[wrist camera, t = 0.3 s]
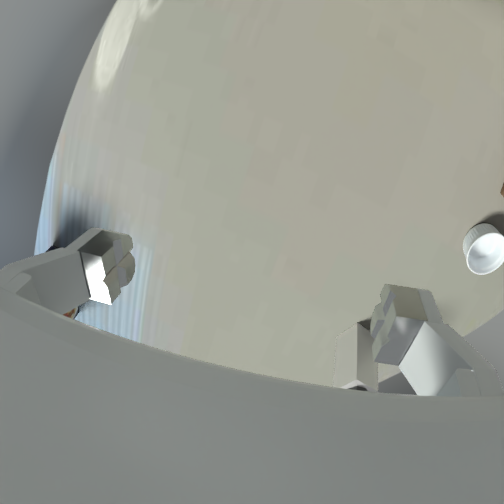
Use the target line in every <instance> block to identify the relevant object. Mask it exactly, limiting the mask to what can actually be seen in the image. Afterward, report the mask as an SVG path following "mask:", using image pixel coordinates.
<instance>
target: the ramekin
mask: <svg viewBox="0 0 504 504" xmlns="http://www.w3.org/2000/svg"><path fill="white" fill-rule="evenodd" d="M463 251H464V254H465V257H466V261H467V265H468V268H469V269H470V270H471V271H472V272H474V273H476V274H480V275H483V274H488V273H491V272H493V271H494V270H496V269H497V268H498V267H500V266H501V264H502V263H503V262H504V236H503V235H502V234H500V232H499V231H498V230H497V229H496V228H495V227H494V226H493V225H491V224H487V223H482V224H479V225H476V226H475V227H473V228H472V229H470V231H469V232H468V233H467V235H466V236H465V238H464V241H463Z"/></svg>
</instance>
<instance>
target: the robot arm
mask: <svg viewBox="0 0 504 504" xmlns="http://www.w3.org/2000/svg"><path fill="white" fill-rule="evenodd" d="M132 248H133V243H132V238H131V237H130V236H129V235H127V234H123V233H118V232H114V231H109V230H105V229H100V228H90V229H89V230H88V231H86V232H85V233H84V234H82V235H81V236H80V237H78V238H77V239H76V240H75V241H73V242H72V243H71V244H69V245H68V246H67V247H66V248H63V247H61V248H58V249H55V250H51V251H48V252H45V253H42V254H39V255H35V256H32V257H29V258H26V259H23V260H20V261H17V262H14V263H11V264H8V265H6V266H5V267H4V268H2V269H1V270H0V504H504V391H503V388H502V385H501V382H500V380H499V377H498V374H497V371H496V369H495V368H494V367H493V366H492V365H491V364H490V363H489V362H488V361H487V360H486V359H485V358H484V357H483V356H481V355H480V354H479V353H478V352H477V351H476V350H475V349H474V348H473V347H472V346H471V345H470V344H469V343H468V342H467V341H465V340H464V339H463V338H462V337H461V336H460V335H459V334H458V333H457V332H456V331H455V330H454V329H452V328H451V327H450V326H449V325H448V324H444V323H443V321H442V318H441V315H440V313H439V310H438V308H437V305H436V303H435V300H434V298H433V295H432V293H431V292H430V291H429V290H424V289H417V288H410V287H403V286H397V285H390V284H385V285H384V287H383V289H382V291H381V294H380V297H381V303H379V304H378V305H377V306H375V309H374V312H373V314H372V319H371V324H370V332H371V336H372V337H373V338H374V339H375V340H374V343H373V345H372V351H373V360H374V362H377V363H384V364H391V365H398V366H399V368H400V370H401V371H402V373H403V374H404V376H405V377H406V378H407V380H408V381H409V383H410V384H411V386H412V387H413V389H414V390H415V392H416V393H417V395H405V394H389V393H379V392H369V391H360V390H352V389H344V388H336V387H329V386H322V385H316V384H310V383H304V382H298V381H292V380H286V379H281V378H276V377H271V376H266V375H261V374H256V373H251V372H247V371H242V370H238V369H233V368H229V367H225V366H221V365H216V364H212V363H208V362H204V361H201V360H197V359H193V358H189V357H186V356H182V355H178V354H175V353H171V352H168V351H165V350H161V349H158V348H154V347H151V346H148V345H145V344H142V343H138V342H135V341H132V340H129V339H126V338H123V337H120V336H117V335H115V334H112V333H109V332H106V331H103V330H100V329H98V328H95V327H92V326H90V325H87V324H84V323H82V322H79V321H77V320H74V319H72V318H69V317H67V316H64V315H63V314H65V313H67V312H69V311H71V310H72V309H74V308H76V307H78V306H80V305H82V304H84V303H86V302H87V301H89V300H91V299H93V300H97V301H100V302H104V303H107V304H112V303H113V301H114V300H115V299H116V298H117V297H118V295H119V294H120V293H121V289H120V288H121V287H123V286H126V285H128V284H129V282H130V281H131V280H132V277H133V275H134V272H135V259H134V257H133V256H132V254H131V253H130V251H131V250H132Z"/></svg>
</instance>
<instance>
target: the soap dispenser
mask: <svg viewBox="0 0 504 504" xmlns="http://www.w3.org/2000/svg"><path fill="white" fill-rule="evenodd" d="M374 340H375V339H374V338H373V337H372V336H371V332H370V331H369V330H367V329H366V328H365V327H363V326H362V325H360V324H359V323H356V324H354V325H353V326H351V327H350V328H348V329H347V330H345V331H344V332H342V333H341V334H339V335H338V336H336V349H335V363H334V375H333V386H332V387H336V388H344V389H352V390H360V391H369V392H377V391H378V363H377V362H374V360H373V351H372V345H373V343H374Z"/></svg>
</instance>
